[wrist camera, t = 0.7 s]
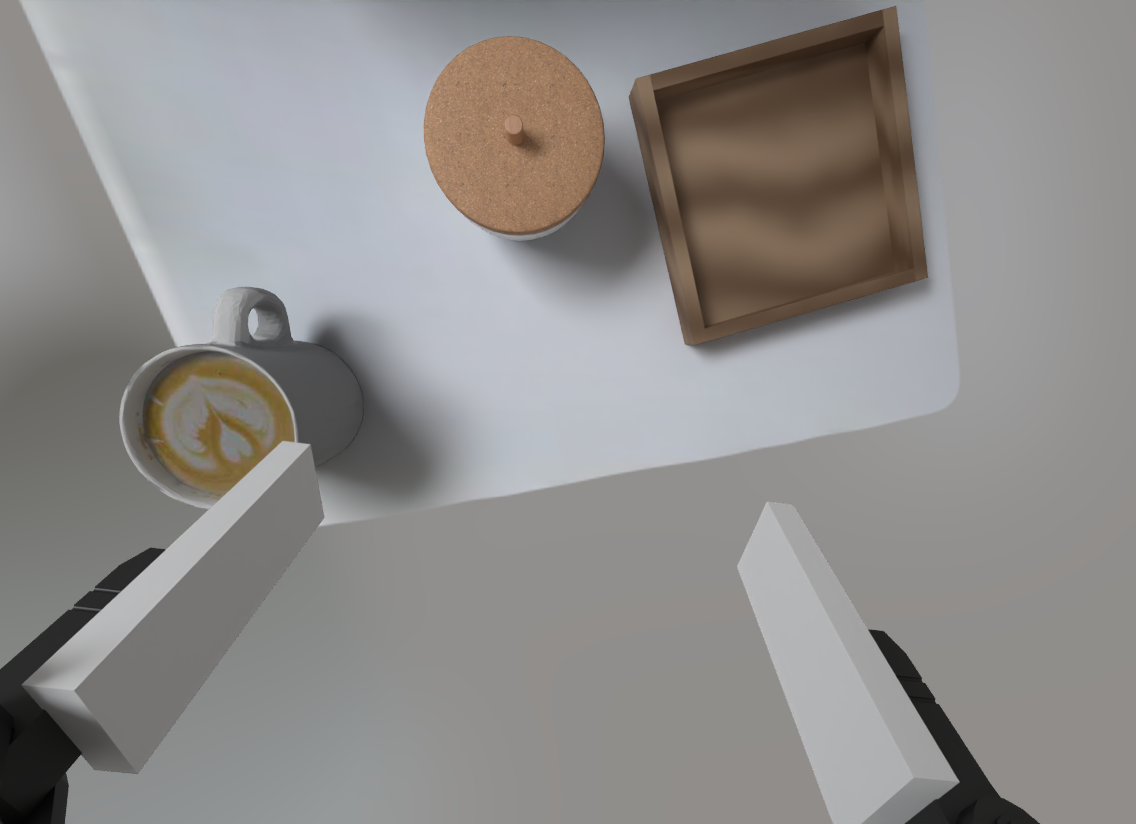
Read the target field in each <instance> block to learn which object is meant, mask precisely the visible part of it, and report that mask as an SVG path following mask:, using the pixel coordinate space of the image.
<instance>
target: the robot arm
mask: <svg viewBox="0 0 1136 824" xmlns="http://www.w3.org/2000/svg"><path fill="white" fill-rule="evenodd" d="M323 519H324V513H323V508H322V502H321V497H320V492H319V486H318V481H317V476H316V471H315V465H314V460H313V455H312V450H311V444H304V443H296V442H288V441H282V442H281V443H280V444H279V445H278V446H277V447H276V448H275V449H273V450H272V451H271V452H270V453H269V454H268V455H267V456H266V457H265V458H264V459H263V460H262V461H261V462H260V463H258V464H257V465H256V466H255V467H254V468H253V469H252V470H251V471H250V472H249V473H248V474H247V475H246V476H245V477H243V478H242V479H241V480H240V481H239V482H238V483H237V484H236V485H235V486H234V487H233V488H232V489H231V490H230V491H228V492H227V493H226V494H225V495H224V496H223V497H222V498H221V499H220V500H219V501H218V502H217V503H216V504H215V505H213V506H212V507H211V508H210V509H209V510H208V511H207V512H206V513H205V514H204V515H203V516H202V517H201V518H200V519H198V520H197V521H196V522H195V524H193V525H192V526H191V527H190V528H189V529H188V530H187V531H186V532H185V533H184V534H182V535H181V536H180V537H179V538H178V539H177V540H176V541H175V542H174V543H173V544H172V545H171V546H170V547H169V548H168V549H157V548H149V549H147V550H146V551H144V552H142V553H140V554H139V555H137V556H135V557H133V558H132V559H130V560H128V561H126V562H124V563H123V564H121V565H119V566H118V567H117V568H116V569H115V570H114V571H112V572H111V573H110V574H109V575H108V576H107V577H106V578H104V579H103V580H102V581H101V582H100V583H99V584H98V585H97V586H95V589H94V591H90V592H88V593H87V594H86V595H85V596H84V597H83V598H82V599H80V600H79V601H78V602H77V603H76V604H75V605H74V608H73V609H72V610H68V611H67V612H65V613H64V614H63V615H62V616H61V617H60V618H59V619H57V620H56V621H55V622H54V623H53V624H52V625H51V626H49V627H48V628H47V629H46V630H45V631H44V632H43V633H42V634H40V635H39V636H38V637H37V638H36V639H35V640H33V641H32V642H31V643H30V644H29V645H28V646H27V647H25V648H24V649H23V650H22V651H21V652H20V653H19V654H17V655H16V656H15V657H14V658H13V659H12V660H11V661H9V662H8V663H7V664H6V665H5V666H4V667H3V668H1V669H0V824H65V816H66V815H65V814H66V806H67V797H68V787H69V785H68V780H67V775H66V772H67V770H68V769H69V768H70V767H71V766H72V764H73V763H74V762H75V761H76V760H77V758H78V757H79V756H80V755H82V756H83V757H84V758H85V760H86V761H87V762H88V763H89V764H90V765H91V767H93V769H94V770H102V771H111V772H122V773H132V774H138V773H139V772H140V770H141V769H142V767H143V766H144V765H145V764H146V762H147V761H148V759H149V758H150V757H151V755H152V754H153V752H154V751H155V750H156V748H157V747H158V746H159V744H160V743H161V741H162V740H163V739H164V737H165V736H166V735H167V733H168V732H169V730H170V729H171V728H172V726H173V725H174V724H175V722H176V721H177V719H178V718H179V717H180V715H181V714H182V713H183V711H184V710H185V708H186V707H187V706H188V704H189V703H190V702H191V700H192V699H193V697H194V696H195V695H196V693H197V692H198V691H199V689H200V688H201V686H202V685H203V684H204V682H205V681H206V680H207V678H208V677H209V675H210V674H211V673H212V671H213V670H214V669H215V667H216V666H217V664H218V663H219V662H220V660H221V659H222V658H223V656H224V655H225V653H226V652H227V651H228V649H229V648H230V646H231V645H232V644H233V642H234V641H235V640H236V638H237V637H238V636H239V634H240V633H241V631H242V630H243V629H244V627H245V626H246V624H247V623H248V622H249V620H250V619H251V617H252V616H253V615H254V613H255V612H256V611H257V609H258V608H259V606H260V605H261V604H262V602H263V601H264V600H265V598H266V597H267V596H268V594H269V593H270V591H271V590H272V589H273V587H274V586H275V585H276V583H277V582H278V580H279V579H280V578H281V576H282V575H283V574H284V572H285V571H286V569H287V568H288V567H289V565H290V564H291V563H292V561H293V560H294V558H295V557H296V556H297V554H298V553H299V552H300V550H301V549H302V547H303V546H304V545H305V543H306V542H307V541H308V539H309V538H310V536H311V535H312V533H313V532H314V531H315V530H316V528H317V527H318V525H319V524H320V523H321V521H322V520H323ZM737 568H738V571H739V573H740V576H741V579H742V581H743V584H744V587H745V589H746V592H747V595H748V597H749V600H750V602H751V605H752V608H753V611H754V613H755V616H756V619H757V622H758V624H759V627H760V630H761V632H762V635H763V637H764V640H765V643H766V646H767V648H768V651H769V654H770V656H771V659H772V662H773V664H774V667H775V670H776V672H777V675H778V678H779V680H780V683H781V686H782V688H783V691H784V694H785V697H786V699H787V702H788V704H789V707H790V710H791V712H792V715H793V718H794V721H795V723H796V726H797V728H798V731H799V734H800V737H801V739H802V742H803V744H804V747H805V750H806V753H807V755H808V758H809V761H810V763H811V766H812V769H813V772H814V774H815V777H816V779H817V782H818V785H819V787H820V790H821V793H822V796H823V798H824V801H825V803H826V806H827V809H828V812H829V815H830V817H831V820H832V822H833V824H1040V823H1038V822H1037V821H1036V820H1035V819H1034V818H1032V817H1031V816H1030V815H1029V814H1028V813H1026V812H1025V811H1024V810H1023V809H1021V808H1020V807H1018V806H1016V805H1014V804H1012V803H1010V802H1009V801H1007V800H1005V799H1003V798H1001V797H1000V796H999V795H998V793H997V792H996V791H995V789H994V788H993V786H992V785H991V784H990V782H989V781H988V779H987V778H986V776H985V775H984V773H983V772H982V770H981V768H980V767H979V765H978V764H977V762H976V761H975V759H974V758H973V756H972V755H971V753H970V751H969V750H968V748H967V747H966V746H965V744H964V742H963V741H962V739H961V738H960V736H959V734H958V733H957V731H956V730H955V728H954V727H953V725H952V724H951V722H950V721H949V719H948V718H947V716H946V715H945V713H944V712H943V710H942V708H941V707H940V705H939V704H936V702H935V698H934V696H933V694H932V693H931V692H930V690H929V688H928V687H927V685H926V684H925V683H923V682H922V678H921V676H920V675H919V673H918V671H917V670H916V668H915V667H914V665H913V664H912V662H911V661H910V659H909V658H908V656H907V654H906V653H905V652H904V651H903V650H902V649H901V648H900V647H899V646H898V645H897V644H896V643H895V642H894V641H893V640H892V639H891V638H890V637H889V636H888V635H887V634H886V633H885V632H884V631H877V630H869V629H867V627H866V626H865V624H864V622H863V621H862V619H861V617H860V616H859V614H858V612H857V611H856V609H855V607H854V606H853V604H852V602H851V601H850V599H849V597H848V596H847V594H846V592H845V591H844V589H843V587H842V586H841V584H840V582H839V581H838V579H837V577H836V576H835V574H834V572H833V571H832V569H831V568H830V566H829V564H828V562H827V561H826V559H825V557H824V556H823V554H822V552H821V551H820V549H819V547H818V546H817V544H816V542H815V541H814V539H813V538H812V536H811V534H810V533H809V531H808V529H807V527H806V526H805V524H804V523H803V521H802V519H801V518H800V516H799V515H798V513H797V511H796V509H795V508H794V506H793V505H791V504H783V503H775V502H767V503H766V505H765V508H764V509H763V512H762V514H761V516H760V518H759V520H758V523H757V525H756V527H755V529H754V531H753V533H752V535H751V538H750V540H749V542H748V544H747V546H746V548H745V551H744V553H743V555H742V557H741V559H740V561H739V563H738V566H737Z"/></svg>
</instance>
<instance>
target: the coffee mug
mask: <svg viewBox="0 0 1136 824" xmlns="http://www.w3.org/2000/svg"><path fill="white" fill-rule="evenodd" d="M253 308H254V309H255V310H256V313H257V315H258V327H257V330H256V332H255V334H253V335H252V336H251V335H250V333H249V329H248V315H249V313H250V311H251V309H253ZM213 332H214V338H213V340H212V342H210V343H207V344H195V345H185V346H181V347H177V348H173V349H170V350H167V351H165V352H163V353H161V354H158V355H156V356H154V357H153V358H151V359H150V360H149V361H147V362H146V363H145V364H143V365H142V366H141V367H140V368H139V369H138V370H137V372H136V373H135V374H134V375H133V376H132V378H131V380H130V382H129V384H128V386H127V387H126V389H125V391H124V394H123V398H122V401H121V406H120V418H119V420H120V428H121V434H122V438H123V441H124V445H125V448H126V450H127V452H128V454H129V456H130V458H131V459H132V461H133V462H134V464H135V465H136V467H137V468H138V470H139V471H140V472H141V473H142V475H143V476H144V477H145V478H146V479H147V480H148V481H149V482H150V483H151V484H152V485H154V486H155V487H156V488H158V489H159V490H160V491H162V492H163V493H165V494H167V495H168V496H170V497H171V498H174V499H176V500H178V501H180V502H183V503H185V504H187V505H191V506H195V507H199V508H204V509H210V508H211V507H212V506H213V505H215V504H216V503H217V502H218V501H219V500H220V499H221V498H222V497H223V496H224V495H225V494H226V493H227V492H228V491H230V490H231V489H232V488H233V487H234V486H235V485H236V484H237V483H238V482H239V481H240V480H241V479H242V478H243V477H245V476H246V475H247V474H248V473H249V472H250V471H251V470H252V469H253V468H254V467H255V466H256V465H257V464H258V463H260V462H261V461H262V460H263V459H264V458H265V457H266V456H267V455H268V454H269V453H270V452H271V451H272V450H273V449H275V448H276V447H277V446H278V445H279V444H280V443H281V442H282V441H288V442H296V443H304V444H311V450H312V455H313V460H314V465H315V467H317V466H319V465H320V464H322V463H324V462H325V461H327V460H329V459H330V458H332V457H333V456H335V455H337V454H338V453H340V452H341V451H343V450H344V449H345V448H346V447H347V446H348V445H349V444H350V443H351V442H352V441H353V439H354V438H355V436H356V435H357V433H358V431H359V428H360V425H361V422H362V419H363V412H364V406H363V396H362V392H361V389H360V386H359V383H358V381H357V379H356V377H355V375H354V374H353V372H352V371H351V369H350V368H349V367H348V366H347V365H346V363H345V362H344V361H342V360H341V359H340V358H339V357H338V356H337V355H335V354H334V353H332V352H331V351H329V350H327V349H325V348H323V347H321V346H318V345H315V344H312V343H308V342H303V341H294V340H293V339H292V337H291V332H290V327H289V321H288V316H287V312H286V308H285V306H284V304H283V302H282V301H281V300H280V299H279V298H278V297H277V296H276V295H275V294H273V293H271V292H269V291H267V290H264V289H260V288H253V287H237V288H233V289H229V290H227V291H226V292H224V293H222V294H221V296H220V297H219V298H218V300H217V303H216V306H215V309H214V317H213Z"/></svg>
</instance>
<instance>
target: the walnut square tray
mask: <svg viewBox="0 0 1136 824" xmlns="http://www.w3.org/2000/svg"><path fill="white" fill-rule="evenodd" d="M629 100H630V105H631V109H632V114H633V118H634V122H635V127H636V131H637V136H638V140H639V144H640V149H641V153H642V158H643V162H644V166H645V171H646V175H647V180H648V184H649V188H650V193H651V197H652V202H653V206H654V210H655V215H656V219H657V224H658V228H659V232H660V237H661V241H662V246H663V250H664V254H665V259H666V263H667V268H668V272H669V276H670V281H671V285H672V290H673V294H674V298H675V303H676V307H677V312H678V316H679V320H680V325H681V329H682V334H683V338H684V342H685V344H691V345H697V344H700V343H704V342H707V341H710V340H714V339H717V338H721V337H724V336H728V335H731V334H735V333H738V332H742V331H745V330H748V329H752V328H755V327H759V326H762V325H766V324H769V323H773V322H776V321H780V320H783V319H787V318H790V317H793V316H797V315H800V314H804V313H807V312H811V311H814V310H818V309H821V308H825V307H828V306H832V305H835V304H838V303H842V302H845V301H849V300H852V299H856V298H859V297H863V296H866V295H870V294H873V293H876V292H880V291H883V290H887V289H890V288H894V287H897V286H901V285H904V284H908V283H911V282H915V281H918V280H921V279H925V278H928V274H927V265H926V257H925V248H924V240H923V231H922V223H921V214H920V206H919V197H918V189H917V180H916V172H915V163H914V155H913V146H912V137H911V129H910V120H909V112H908V103H907V95H906V86H905V78H904V69H903V61H902V52H901V44H900V35H899V27H898V18H897V10H896V6H894V7H890V8H887V9H883V10H880V11H876V12H873V13H869V14H865V15H862V16H858V17H855V18H851V19H848V20H844V21H840V22H837V23H833V24H830V25H826V26H823V27H819V28H815V29H812V30H808V31H805V32H801V33H798V34H794V35H790V36H787V37H783V38H780V39H776V40H773V41H769V42H765V43H762V44H758V45H755V46H751V47H748V48H744V49H740V50H737V51H733V52H730V53H726V54H723V55H719V56H715V57H712V58H708V59H705V60H701V61H698V62H694V63H690V64H687V65H683V66H680V67H676V68H673V69H669V70H665V71H662V72H658V73H655V74H651V75H648V76H644V77H640V78H637V79H636V80H635V83H634V85H633V88H632V90H631V93H630V96H629Z"/></svg>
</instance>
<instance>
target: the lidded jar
mask: <svg viewBox="0 0 1136 824" xmlns="http://www.w3.org/2000/svg"><path fill="white" fill-rule="evenodd" d="M604 141H605V136H604V124H603V119H602V115H601V110H600V107H599V104H598V101H597V99H596V96H595V94H594V92H593V90H592V88H591V86H590V85H589V83H588V81H587V79H586V78H585V77H584V76H583V74H582V73H581V72H580V70H579V69H578V68H577V67H576V66H575V65H574V64H573V63H572V62H571V61H570V60H569V59H568V58H567V57H566V56H564V55H563V54H561V53H560V52H558V51H557V50H555V49H554V48H552V47H550V46H548V45H546V44H544V43H541V42H539V41H535V40H532V39H528V38H523V37H513V36H508V37H496V38H492V39H488V40H485V41H481V42H479V43H477V44H475V45H473V46H471V47H469V48H467V49H466V50H464V51H463V52H462V53H460V54H459V55H457V56H456V57H455V58H454V59H453V60H452V61H451V62H450V63H449V64H448V65H447V66H446V67H445V69H444V70H443V72H442V73H441V74H440V76H439V77H438V79H437V81H436V83H435V85H434V87H433V89H432V91H431V93H430V96H429V100H428V103H427V106H426V112H425V119H424V142H425V148H426V155H427V158H428V161H429V165H430V168H431V170H432V173H433V175H434V177H435V179H436V181H437V183H438V185H439V186H440V188H441V189H442V191H443V192H444V194H445V195H446V197H447V198H448V200H449V201H450V202H451V203H452V204H453V205H454V206H455V207H456V209H457V210H458V211H460V212H461V213H462V214H463V215H464V216H465V217H466V218H467V219H468V220H470V221H471V222H472V223H473V224H474V225H476V226H477V227H479V228H481V229H482V230H484V231H486V232H487V233H490V234H492V235H495V236H497V237H500V238H504V239H509V240H520V241H523V240H533V239H537V238H541V237H544V236H546V235H549V234H551V233H553V232H555V231H556V230H558V229H559V228H561V227H562V226H564V225H565V224H566V223H567V222H568V221H569V220H570V219H571V218H572V217H573V216H574V215H575V214H576V213H577V212H578V210H579V209H580V208H581V206H582V205H583V203H584V201H585V200H586V199H587V198H588V196H589V194H590V192H591V190H592V189H593V187H594V185H595V182H596V180H597V177H598V174H599V172H600V169H601V164H602V159H603V155H604Z"/></svg>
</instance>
